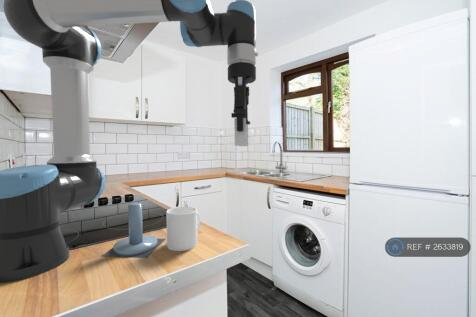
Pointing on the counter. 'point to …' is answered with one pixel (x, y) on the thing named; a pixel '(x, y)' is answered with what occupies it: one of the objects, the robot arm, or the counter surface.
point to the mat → (144, 255)
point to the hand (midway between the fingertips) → (242, 146)
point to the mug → (182, 228)
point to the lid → (135, 235)
